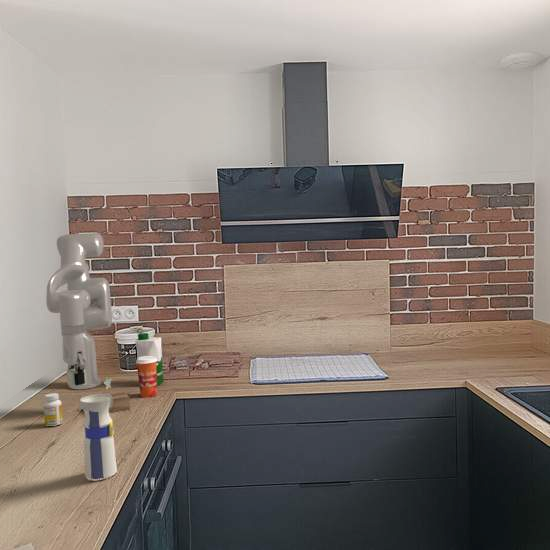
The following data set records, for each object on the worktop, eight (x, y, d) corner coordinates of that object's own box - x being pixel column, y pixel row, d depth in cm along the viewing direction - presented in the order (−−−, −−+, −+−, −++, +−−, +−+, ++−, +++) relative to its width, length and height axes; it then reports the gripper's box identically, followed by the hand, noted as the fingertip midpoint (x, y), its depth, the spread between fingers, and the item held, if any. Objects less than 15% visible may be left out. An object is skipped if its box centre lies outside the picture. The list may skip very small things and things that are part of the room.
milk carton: (145, 381, 247) (142, 332, 246) (166, 381, 246) (163, 331, 244) (136, 387, 239) (132, 335, 237) (158, 387, 237) (154, 335, 236)
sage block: (67, 384, 210) (66, 370, 210) (82, 381, 213) (81, 367, 212) (72, 387, 206) (71, 372, 206) (87, 384, 209) (86, 369, 208)
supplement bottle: (57, 421, 200) (54, 391, 199) (66, 423, 196) (64, 393, 195) (41, 425, 195) (39, 395, 195) (51, 428, 192) (48, 397, 191)
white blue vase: (122, 466, 157) (115, 370, 155) (114, 480, 149) (107, 378, 147) (89, 468, 157) (82, 372, 155) (80, 482, 149) (72, 380, 147)
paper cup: (138, 399, 221) (135, 360, 220) (137, 394, 228) (134, 356, 227) (160, 396, 223) (158, 358, 222) (158, 391, 230) (156, 354, 229)
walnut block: (93, 409, 212) (91, 395, 211) (121, 404, 217) (120, 390, 216) (100, 416, 203) (99, 401, 203) (130, 411, 208) (129, 396, 208)
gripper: (54, 328, 212) (58, 379, 214) (70, 335, 198) (74, 390, 200) (75, 325, 217) (79, 375, 219) (92, 331, 203) (97, 385, 205)
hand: (77, 382), depth 209 cm, fingers closed on sage block, 5 cm apart
